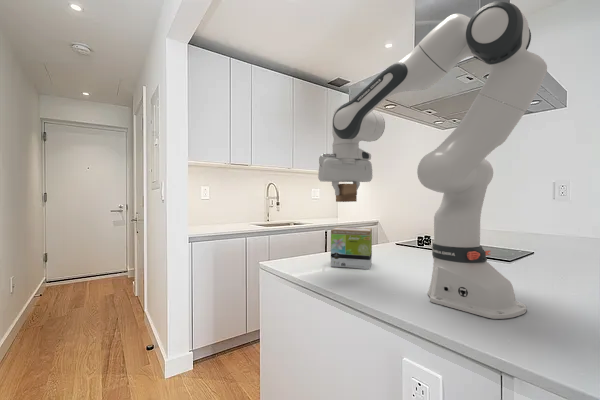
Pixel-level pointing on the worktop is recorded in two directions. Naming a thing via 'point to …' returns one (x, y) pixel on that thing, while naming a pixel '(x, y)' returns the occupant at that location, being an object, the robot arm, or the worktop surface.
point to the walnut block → (347, 193)
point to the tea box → (351, 247)
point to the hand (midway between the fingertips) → (346, 195)
